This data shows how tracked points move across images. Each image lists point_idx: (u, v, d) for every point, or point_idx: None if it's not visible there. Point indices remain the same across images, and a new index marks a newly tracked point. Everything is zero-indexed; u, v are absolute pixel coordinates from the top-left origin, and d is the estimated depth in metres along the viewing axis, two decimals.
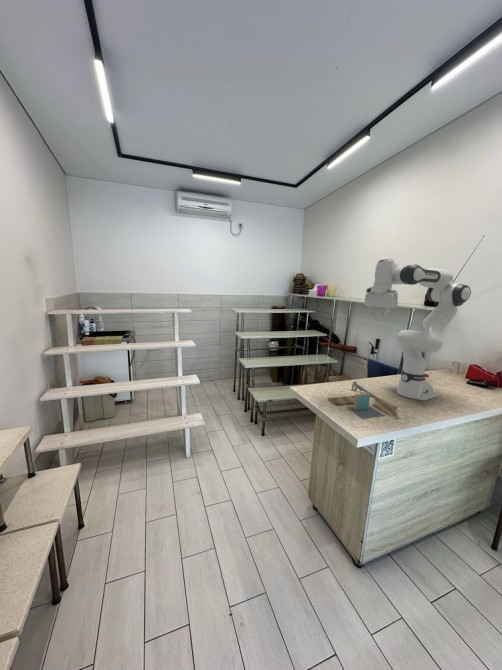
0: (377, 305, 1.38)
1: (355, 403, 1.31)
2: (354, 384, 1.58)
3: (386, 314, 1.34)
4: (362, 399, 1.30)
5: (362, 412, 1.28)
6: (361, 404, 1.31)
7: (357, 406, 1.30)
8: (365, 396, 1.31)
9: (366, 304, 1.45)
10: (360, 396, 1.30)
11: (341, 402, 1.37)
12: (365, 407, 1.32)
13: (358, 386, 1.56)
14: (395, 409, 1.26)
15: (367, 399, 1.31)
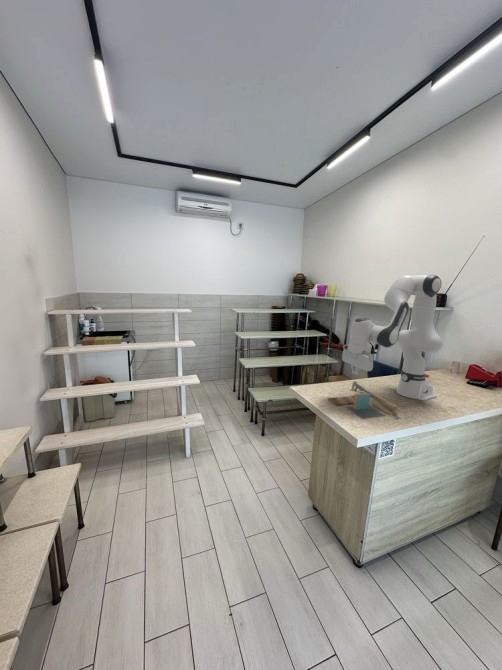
0: (353, 364, 1.35)
1: (355, 403, 1.31)
2: (354, 384, 1.58)
3: (356, 372, 1.35)
4: (362, 399, 1.30)
5: (362, 412, 1.28)
6: (361, 404, 1.31)
7: (357, 406, 1.30)
8: (365, 396, 1.31)
9: (343, 360, 1.43)
10: (360, 396, 1.30)
11: (341, 402, 1.37)
12: (365, 407, 1.32)
13: (358, 386, 1.56)
14: (395, 409, 1.26)
15: (367, 399, 1.31)
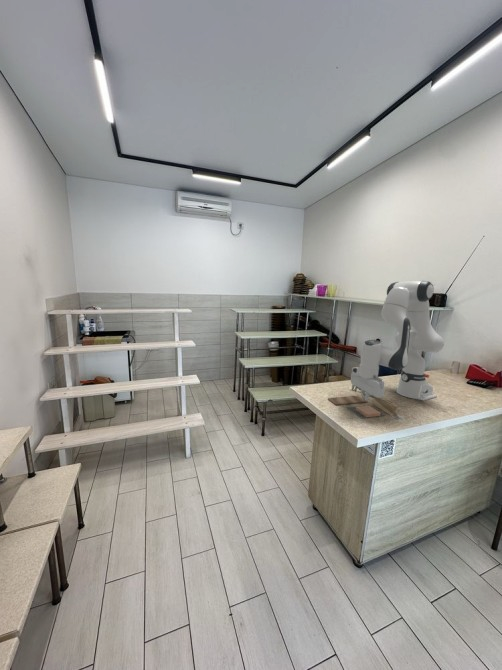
0: (363, 389, 1.28)
1: (360, 411, 1.27)
2: None
3: (367, 397, 1.28)
4: None
5: None
6: None
7: None
8: None
9: (352, 383, 1.36)
10: None
11: (341, 402, 1.37)
12: None
13: None
14: (395, 409, 1.26)
15: None
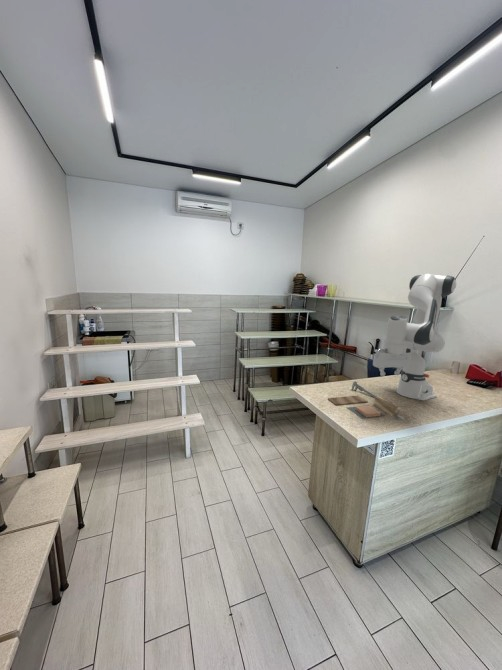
0: None
1: (360, 411, 1.27)
2: (354, 384, 1.58)
3: (381, 373, 1.28)
4: None
5: None
6: None
7: None
8: None
9: None
10: None
11: (341, 402, 1.37)
12: None
13: (358, 386, 1.56)
14: (395, 409, 1.26)
15: None
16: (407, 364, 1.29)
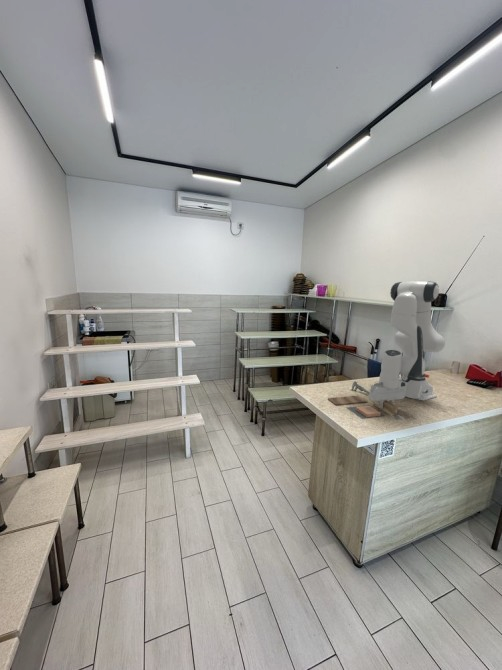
0: None
1: (360, 411, 1.27)
2: (354, 384, 1.58)
3: (380, 405, 1.31)
4: None
5: None
6: None
7: None
8: None
9: None
10: None
11: (341, 402, 1.37)
12: None
13: (358, 386, 1.56)
14: (395, 409, 1.26)
15: None
16: (402, 397, 1.32)
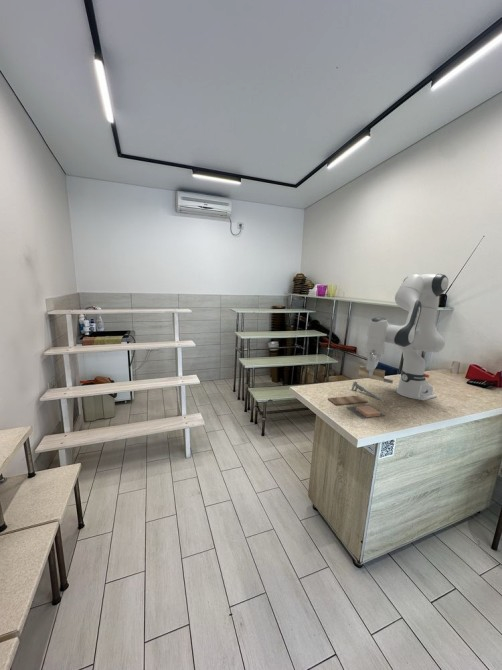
0: None
1: (360, 411, 1.27)
2: (354, 384, 1.58)
3: (370, 374, 1.31)
4: None
5: None
6: None
7: None
8: None
9: None
10: None
11: (341, 402, 1.37)
12: None
13: (358, 386, 1.56)
14: (384, 374, 1.30)
15: None
16: (378, 361, 1.39)
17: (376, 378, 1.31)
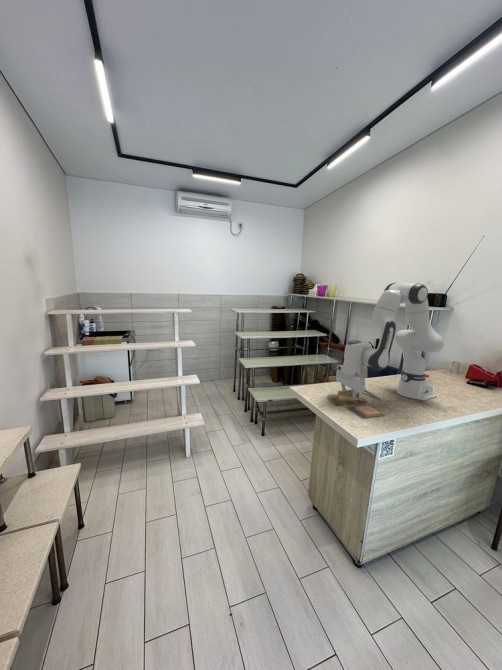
0: (346, 385, 1.39)
1: (360, 411, 1.27)
2: None
3: (354, 395, 1.36)
4: None
5: None
6: None
7: None
8: None
9: (337, 380, 1.47)
10: None
11: (341, 402, 1.37)
12: None
13: None
14: None
15: None
16: None
17: (354, 399, 1.40)
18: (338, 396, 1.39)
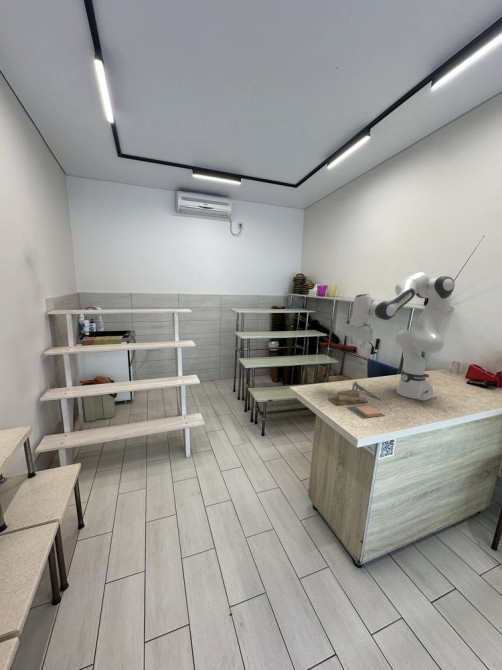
0: (355, 337, 1.47)
1: (360, 411, 1.27)
2: (354, 384, 1.58)
3: (363, 346, 1.43)
4: None
5: None
6: None
7: None
8: None
9: (346, 334, 1.55)
10: None
11: (341, 402, 1.37)
12: None
13: (359, 386, 1.55)
14: None
15: None
16: None
17: (354, 399, 1.40)
18: (338, 396, 1.39)
